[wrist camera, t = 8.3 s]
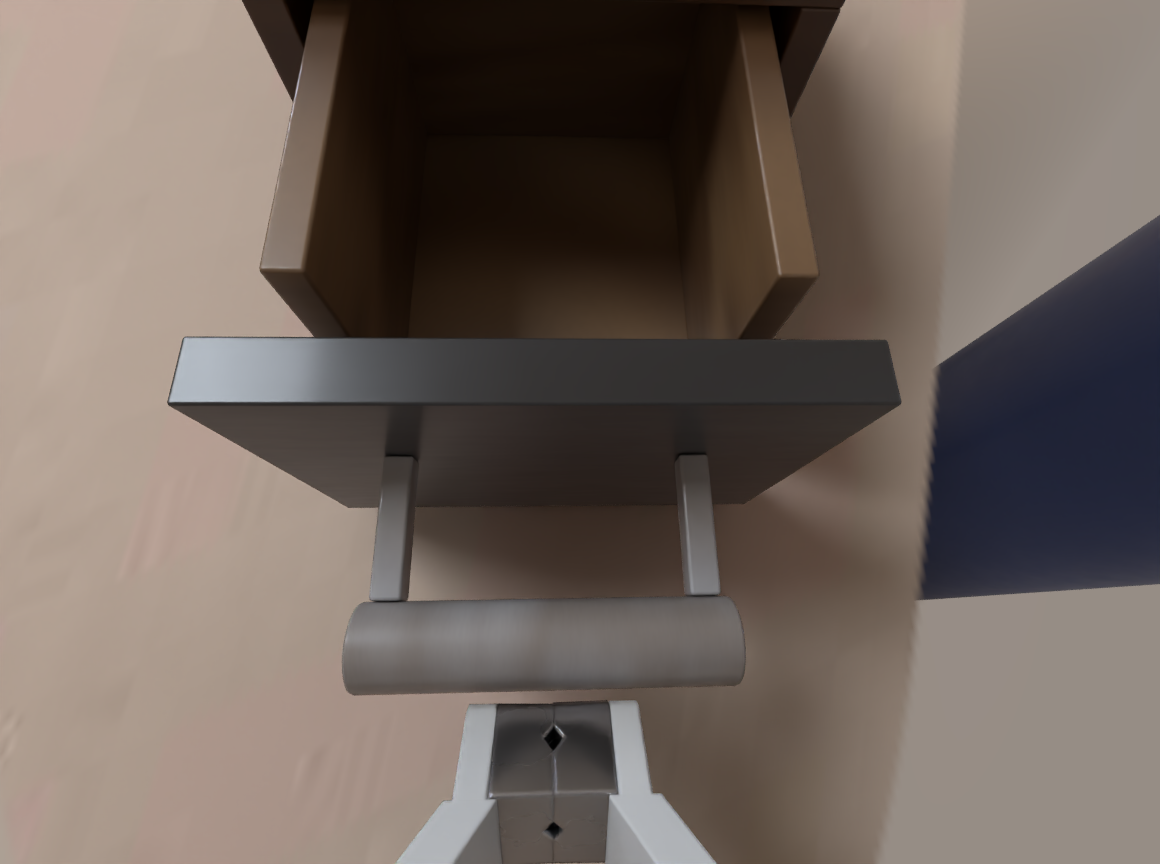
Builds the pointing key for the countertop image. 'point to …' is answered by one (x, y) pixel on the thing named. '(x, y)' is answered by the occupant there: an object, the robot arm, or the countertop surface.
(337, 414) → the drawer
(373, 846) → the countertop surface
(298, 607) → the countertop surface
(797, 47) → the cabinet
